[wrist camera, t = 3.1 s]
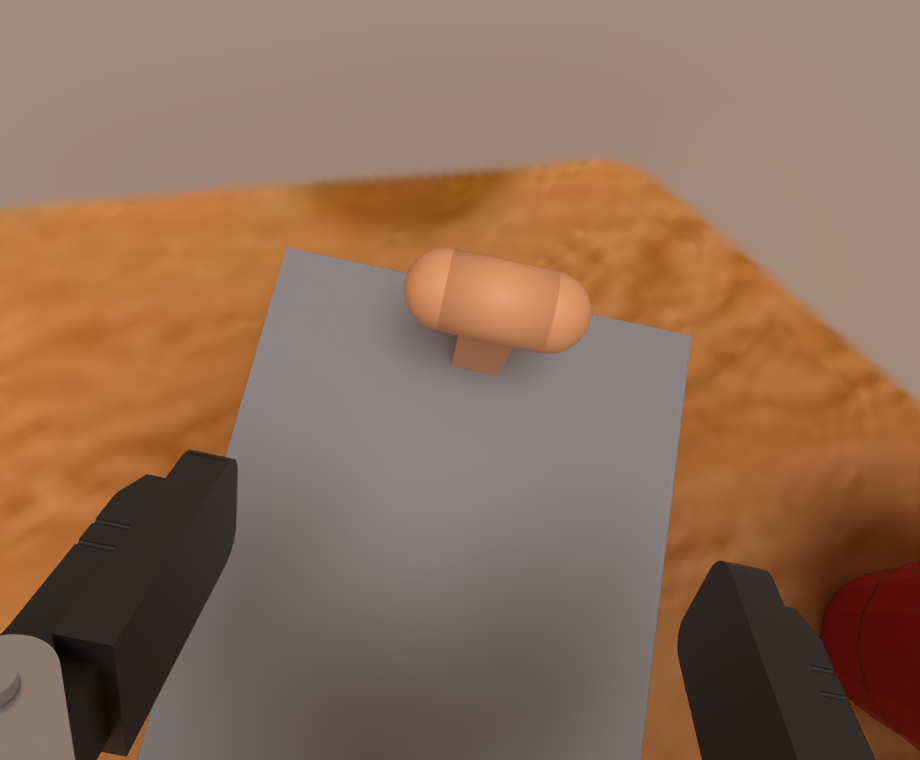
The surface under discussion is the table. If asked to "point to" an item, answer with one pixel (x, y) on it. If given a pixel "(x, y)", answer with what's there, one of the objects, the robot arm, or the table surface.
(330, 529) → the carton lid
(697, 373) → the table surface
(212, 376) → the table surface
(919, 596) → the plastic cup
